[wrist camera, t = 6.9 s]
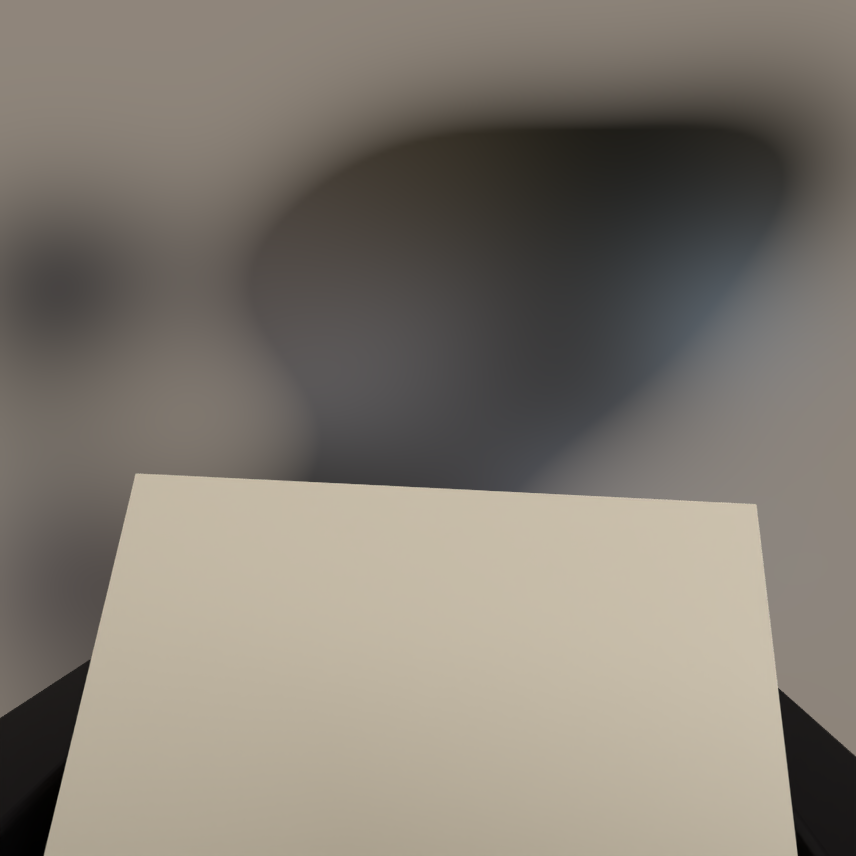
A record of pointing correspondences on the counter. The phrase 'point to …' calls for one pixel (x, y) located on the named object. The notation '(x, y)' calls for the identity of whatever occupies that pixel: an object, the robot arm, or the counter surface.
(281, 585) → the cream box
